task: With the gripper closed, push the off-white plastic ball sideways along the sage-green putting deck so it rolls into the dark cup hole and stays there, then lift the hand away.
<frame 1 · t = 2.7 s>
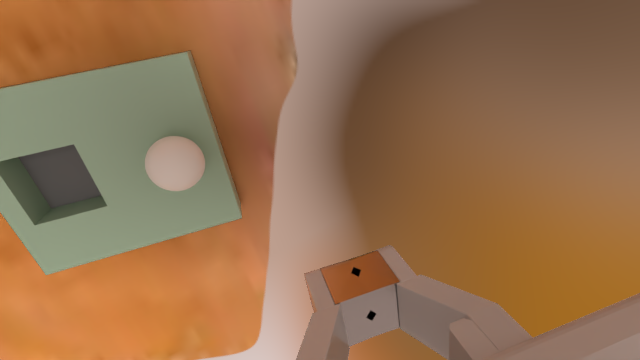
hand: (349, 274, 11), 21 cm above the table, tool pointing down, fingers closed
putting deck: (122, 158, 27), on the table
ball: (176, 163, 23), point 5 cm above the table, touching putting deck
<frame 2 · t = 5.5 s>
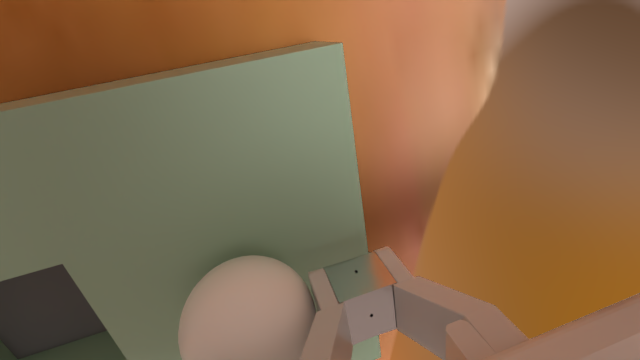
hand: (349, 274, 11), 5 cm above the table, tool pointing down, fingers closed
putting deck: (161, 256, 14), on the table
ball: (250, 323, 10), point 5 cm above the table, tilted 47°, touching gripper, putting deck
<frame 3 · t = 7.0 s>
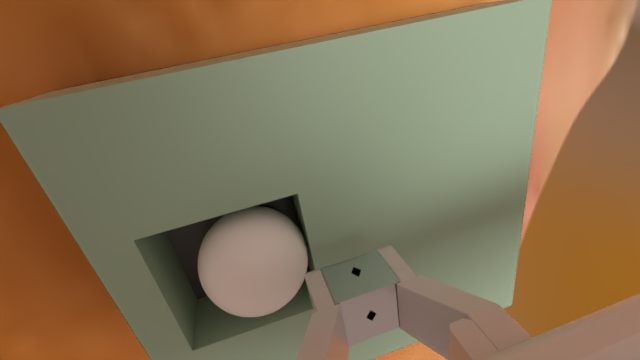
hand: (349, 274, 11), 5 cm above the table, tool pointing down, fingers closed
putting deck: (325, 206, 15), on the table
ball: (254, 259, 12), point 2 cm above the table, tilted 98°, touching putting deck
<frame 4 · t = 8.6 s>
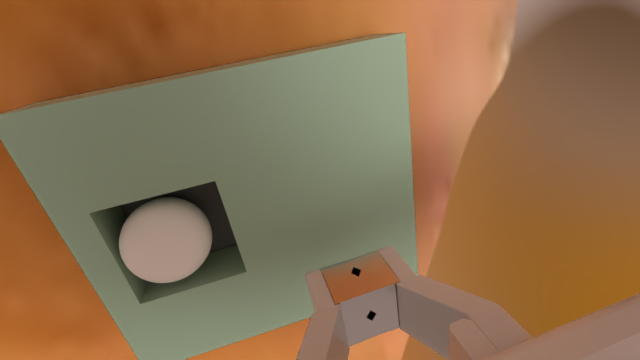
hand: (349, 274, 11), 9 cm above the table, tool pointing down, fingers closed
putting deck: (256, 195, 18), on the table
ball: (168, 239, 15), point 2 cm above the table, tilted 70°, touching putting deck
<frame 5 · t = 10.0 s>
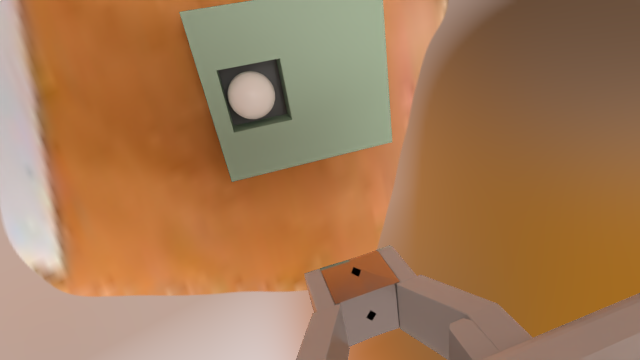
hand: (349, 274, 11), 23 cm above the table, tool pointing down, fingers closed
putting deck: (295, 83, 31), on the table
ball: (251, 95, 28), point 2 cm above the table, tilted 73°, touching putting deck
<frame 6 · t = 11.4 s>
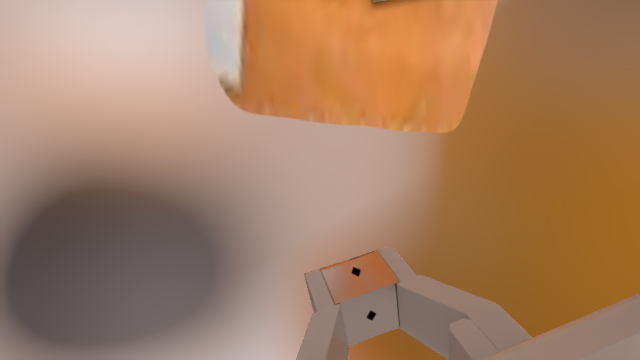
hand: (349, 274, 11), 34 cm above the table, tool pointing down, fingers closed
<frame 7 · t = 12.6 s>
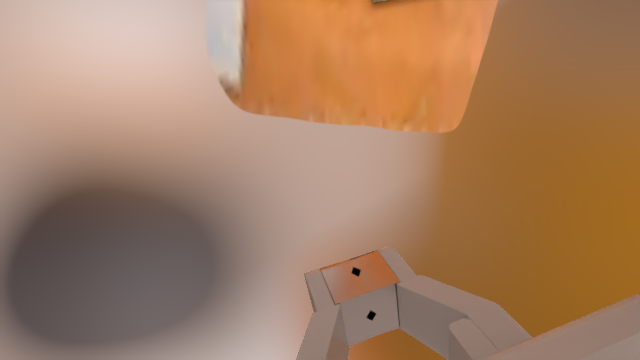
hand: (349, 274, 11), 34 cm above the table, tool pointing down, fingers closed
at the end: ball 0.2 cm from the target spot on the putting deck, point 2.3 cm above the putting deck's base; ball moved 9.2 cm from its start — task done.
